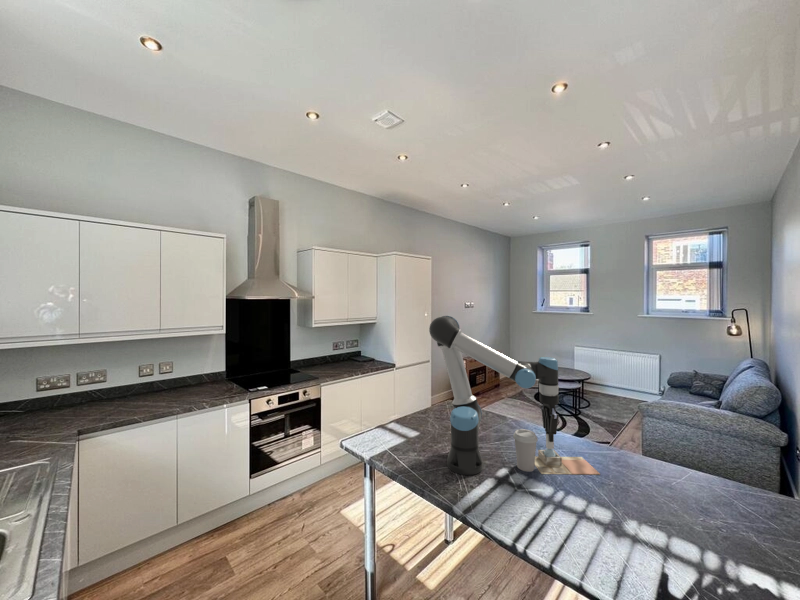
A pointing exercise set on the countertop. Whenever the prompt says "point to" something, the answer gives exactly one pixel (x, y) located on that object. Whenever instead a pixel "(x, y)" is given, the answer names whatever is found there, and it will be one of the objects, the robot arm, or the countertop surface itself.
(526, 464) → the coffee cup
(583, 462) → the board
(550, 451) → the dome
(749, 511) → the countertop surface
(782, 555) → the countertop surface
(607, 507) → the countertop surface
